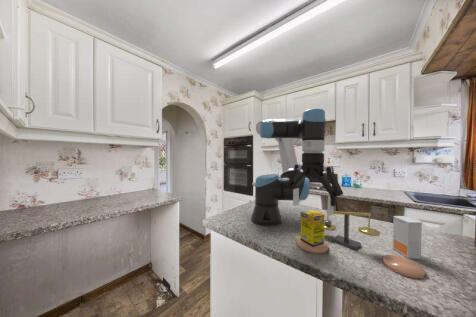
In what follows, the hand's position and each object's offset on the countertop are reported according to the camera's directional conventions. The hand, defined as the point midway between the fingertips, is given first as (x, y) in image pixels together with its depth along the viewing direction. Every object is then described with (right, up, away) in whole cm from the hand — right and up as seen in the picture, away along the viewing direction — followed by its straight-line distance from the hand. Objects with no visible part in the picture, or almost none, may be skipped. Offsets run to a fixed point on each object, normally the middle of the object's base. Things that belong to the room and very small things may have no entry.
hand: (311, 209), depth 64 cm
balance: (+14, -13, +1) cm, 19 cm away
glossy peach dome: (+22, -14, -13) cm, 29 cm away
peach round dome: (0, -13, 0) cm, 13 cm away
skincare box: (+30, -14, -5) cm, 33 cm away
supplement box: (0, -12, 0) cm, 12 cm away
